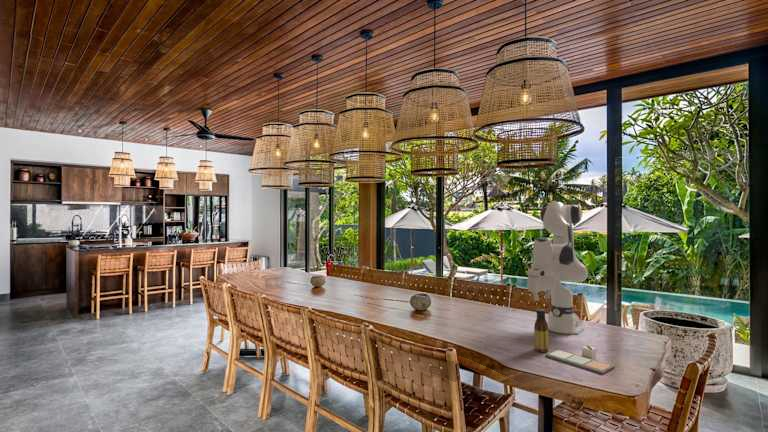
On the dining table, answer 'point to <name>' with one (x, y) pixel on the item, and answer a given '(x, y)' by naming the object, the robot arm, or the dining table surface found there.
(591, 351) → the pale notched block
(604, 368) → the game strip
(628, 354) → the dining table surface
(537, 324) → the sauce bottle
